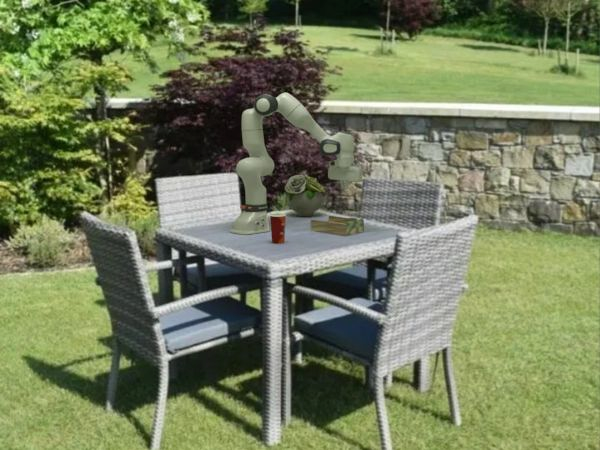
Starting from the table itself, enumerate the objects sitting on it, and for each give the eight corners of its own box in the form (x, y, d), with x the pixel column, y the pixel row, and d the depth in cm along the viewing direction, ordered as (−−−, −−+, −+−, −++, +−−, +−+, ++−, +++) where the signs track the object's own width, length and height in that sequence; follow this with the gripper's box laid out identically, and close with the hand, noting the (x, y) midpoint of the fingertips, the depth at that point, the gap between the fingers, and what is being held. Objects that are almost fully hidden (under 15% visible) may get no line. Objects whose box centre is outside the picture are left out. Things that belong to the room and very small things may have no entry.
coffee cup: (287, 243, 370) (286, 213, 368) (270, 244, 370) (269, 213, 367) (285, 240, 379) (285, 210, 376) (269, 240, 378) (269, 211, 375)
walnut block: (350, 228, 394) (350, 219, 394) (345, 226, 398) (345, 218, 397) (357, 227, 397) (357, 218, 396) (352, 225, 400) (352, 217, 400)
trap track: (345, 236, 388) (345, 222, 387) (310, 230, 403) (310, 217, 402) (363, 231, 400) (363, 218, 399) (329, 226, 415) (329, 213, 414)
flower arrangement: (277, 217, 442) (277, 175, 437) (293, 210, 465) (293, 171, 460) (317, 220, 433) (318, 177, 429) (331, 213, 456) (332, 172, 452)
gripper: (365, 163, 391) (364, 190, 394) (333, 161, 404) (333, 186, 407) (357, 164, 387) (357, 191, 389) (326, 161, 400) (326, 188, 402)
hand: (344, 189), depth 398 cm, fingers closed
